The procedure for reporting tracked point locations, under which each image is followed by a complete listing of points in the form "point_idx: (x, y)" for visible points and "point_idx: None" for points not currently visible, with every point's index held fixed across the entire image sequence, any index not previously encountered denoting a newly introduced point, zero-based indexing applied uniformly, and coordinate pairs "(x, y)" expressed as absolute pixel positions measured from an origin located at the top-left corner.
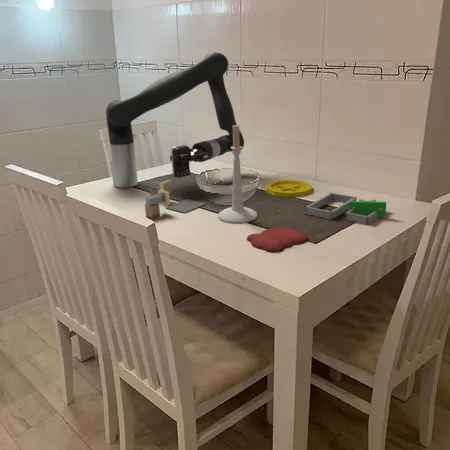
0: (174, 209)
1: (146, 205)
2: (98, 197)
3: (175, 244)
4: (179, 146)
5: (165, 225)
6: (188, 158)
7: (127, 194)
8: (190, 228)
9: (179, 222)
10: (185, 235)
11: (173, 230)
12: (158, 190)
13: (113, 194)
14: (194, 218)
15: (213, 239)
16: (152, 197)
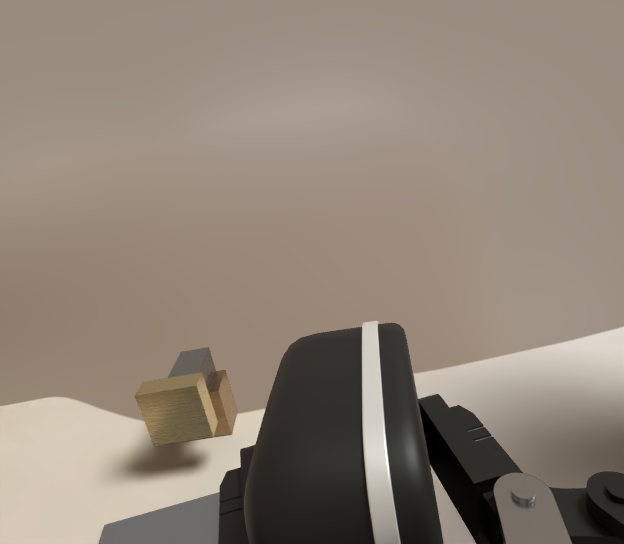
0: (178, 506)
1: (215, 374)
2: (587, 349)
3: (12, 405)
4: (342, 360)
5: (114, 428)
6: (223, 540)
7: (595, 435)
8: (7, 473)
9: (77, 469)
10: (4, 441)
11: (64, 431)
12: (196, 374)
13: (621, 392)
14: (29, 532)
15: None
16: (184, 360)
